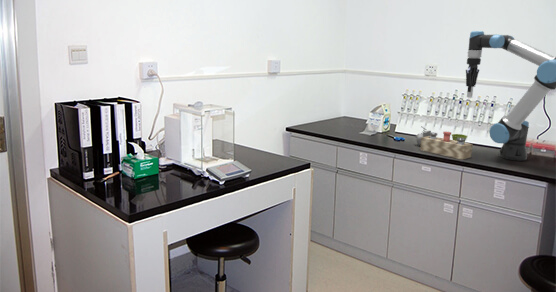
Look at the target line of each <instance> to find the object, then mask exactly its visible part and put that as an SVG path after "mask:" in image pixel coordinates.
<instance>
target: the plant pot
mask: <svg viewBox="0 0 556 292" xmlns="http://www.w3.org/2000/svg"><path fill="white" fill-rule="evenodd" d="M451 137H452V140H455V141H457V138H464V139H465V141H464V142H465V143H466V140H467V138H468V135H466V134H460V133H451Z"/></svg>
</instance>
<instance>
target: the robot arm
mask: <svg viewBox="0 0 556 292" xmlns="http://www.w3.org/2000/svg"><path fill="white" fill-rule="evenodd" d="M483 49H503V50H505V51H507V52H509V53H511V54H513V55H516V56H518V57H520V58H521V59H523V60H525V61H528V62H530V63H531V64H534V65H536V66H538V68H537V70H536V74H535V76H534V78H533V79H534V82H533V83H532V85H530V87H529V88H528V90H526V92H525V93H524V95H522V97H521V98H520V99H519V101H518V102H517V103H516V104H515V106H513V108H512V109H511V111H510V112H509V113H508V114H507V115H503V116H502V117H501V118H500V120H499V121H498V122H495V123H494V124H492V125H491V126H490V128H489V133H488V134H489V137H490V139H491V140H492V141H493V143H494V142H495V143H496V144H502V146H501V147H500V149H499V152H498V157H500V158H502V159H505V160H509V161H510V160H511V161H527V160H528V159H527V158H528V152H527V147H526V146H527V145H526V144H527V140H528V133H529V128H530V127H529V126H530V125H529V124H530V122H529V121H528V120H526V119H528V117H529V116H530V115H531V114H532V113H533V111H534V109H536V107H537V106H538V105H539V104H540V103H541V101H542V100H543V99H544V98H545V96H546V95H547V94H548V93H549V92H550V91H554V90H556V56H554V55H552V54H549V53H548V52H547V53H546V52H545V51H543V50H541V49H539V48H536V47H534V46H531V45H529V44H527V43H525V42H523V41H520V40H518V39H515V37H514V36H513V35H509V34H497V33H496V34H485V32H484V31H483V30H482V31H481V30H472V31H471V32H470V34H469V40H468V49H467V58H466V64H467V65H468V67H467V69H465V86H466V87H467V91H466V98H473V93H474V88H475V87H476V85H477V80H478V76H479V73H480V69H478V67H479V65H481V61H482V59H481V58H482V52H483Z"/></svg>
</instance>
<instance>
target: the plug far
mask: <svg viewBox="0 0 556 292" xmlns="http://www.w3.org/2000/svg"><path fill="white" fill-rule="evenodd" d="M436 137H438V132H431V133H430V138H431V139H436Z"/></svg>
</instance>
